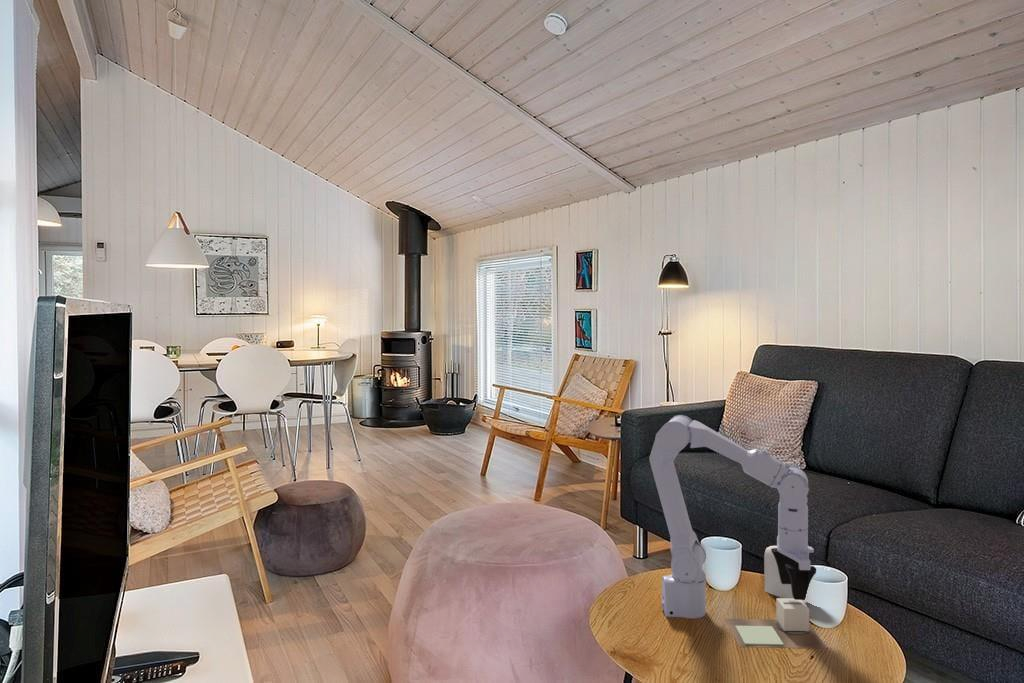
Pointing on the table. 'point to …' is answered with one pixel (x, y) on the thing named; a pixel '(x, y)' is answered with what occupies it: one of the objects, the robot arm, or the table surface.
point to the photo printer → (774, 577)
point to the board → (788, 639)
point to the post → (791, 631)
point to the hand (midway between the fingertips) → (792, 591)
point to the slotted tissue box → (792, 614)
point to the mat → (759, 635)
